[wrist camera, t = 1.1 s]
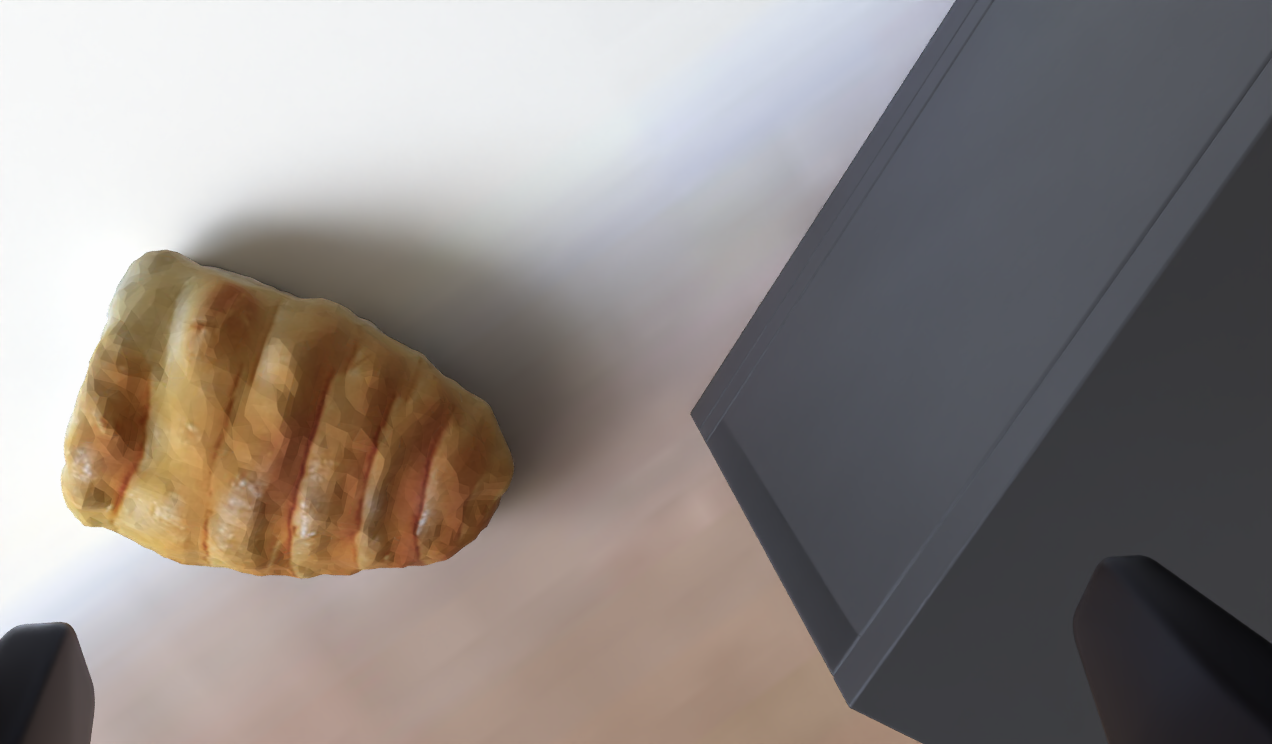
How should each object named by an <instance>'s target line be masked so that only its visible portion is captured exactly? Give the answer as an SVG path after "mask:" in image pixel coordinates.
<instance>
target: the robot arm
mask: <svg viewBox="0 0 1272 744" xmlns="http://www.w3.org/2000/svg"><path fill="white" fill-rule="evenodd" d="M1073 634H1074V639H1075V643H1076V646H1077V649H1078V652H1079V655H1080V658H1081V661H1082V665H1083V668H1084V671H1085V674H1086V677H1087V680H1088V683H1089V686H1090V689H1091V692H1092V695H1093V698H1094V702H1095V705H1096V708H1097V711H1098V714H1099V717H1100V720H1101V723H1102V726H1103V729H1104V732H1105V735H1106V738H1107V742H1108V744H1272V643H1270V642H1269V641H1267V640H1266V639H1265V638H1263V637H1262V636H1260V635H1259V634H1258V633H1256V632H1255V631H1253V630H1252V629H1251V628H1249V627H1248V626H1246V625H1245V624H1244V623H1242V622H1241V621H1239V620H1238V619H1237V618H1235V617H1234V616H1232V615H1231V614H1230V613H1228V612H1227V611H1225V610H1224V609H1223V608H1221V607H1220V606H1218V605H1217V604H1216V603H1214V602H1213V601H1211V600H1210V599H1209V598H1207V597H1206V596H1204V595H1203V594H1202V593H1200V592H1199V591H1197V590H1196V589H1194V588H1193V587H1192V586H1190V585H1189V584H1187V583H1186V582H1185V581H1183V580H1182V579H1180V578H1179V577H1178V576H1176V575H1175V574H1173V573H1172V572H1171V571H1169V570H1168V569H1166V568H1165V567H1164V566H1162V565H1161V564H1159V563H1158V562H1157V561H1155V560H1153V559H1152V558H1149V557H1147V556H1143V555H1130V556H1114V557H1107V558H1105V559H1103V560H1102V561H1100V562H1099V563H1098V565H1097V566H1096V568H1095V570H1094V572H1093V574H1092V577H1091V579H1090V581H1089V583H1088V585H1087V587H1086V589H1085V591H1084V593H1083V595H1082V597H1081V600H1080V602H1079V604H1078V606H1077V608H1076V610H1075V613H1074V617H1073ZM94 708H95V696H94V687H93V683H92V680H91V677H90V674H89V671H88V668H87V665H86V662H85V659H84V656H83V653H82V650H81V647H80V644H79V641H78V638H77V635H76V633H75V631H74V629H73V628H72V627H71V626H70V625H69V624H67V623H63V622H54V623H38V624H24V625H19V626H16V627H14V628H13V629H11V630H10V631H8V632H7V633H6V634H5V635H4V636H3V637H2V638H1V639H0V744H90V740H91V733H92V725H93V718H94Z"/></svg>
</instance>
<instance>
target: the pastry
mask: <svg viewBox="0 0 1272 744" xmlns="http://www.w3.org/2000/svg"><path fill="white" fill-rule="evenodd" d="M64 455H65V461H66V464H65V466H64V468H63V469H62V472H61V487H62V493H63V497H64V499H65V502H66V505H67V507H68V508H69V509H70V510H71V512H72V513H73V514H74V516H75V517H76V518H77V519H78V520H80V521H81V523H82V524H83V525H84V526H90V527H104V528H107V529H109V530H112V531H115V532H117V533H119V534H121V535H123V536H125V537H127V538H129V539H131V540H133V541H135V542H136V543H138V544H140V545H141V546H143V547H145V548H148V549H151V550H153V551H155V552H156V553H158V554H160V555H161V556H163V557H164V558H169V559H171V560H174V561H176V562H178V563H181V564H186V565H199V566H210V567H226V568H230V569H233V570H236V571H239V572H242V573H248V574H253V575H257V576H266V575H288V576H292V577H296V578H311V577H315V576H319V575H322V574H330V575H352V574H355V573H357V572H359V571H361V570H364V569H375V568H396V567H399V568H404V567H406V566H424V565H429V564H432V563H435V562H439V561H444V560H447V559H449V558H450V557H452V556H453V555H454V554H456V553H457V552H458V551H459V550H461V549H462V548H463V547H465V546H466V545H467V544H469V543H470V542H472V541H473V540H475V539H476V538H477V536H478V535H479V533H480V532H481V531H482V530H483V529H484V528H486V527H487V526H488V524H489V522H490V520H491V518H492V516H493V514H494V513H495V511H496V509H497V508H498V506H499V503H500V500H501V497H502V495H503V494H504V493H505V492H506V491H507V489H508V487H509V485H510V483H511V480H512V476H513V472H514V463H513V458H512V455H511V452H510V450H509V448H508V445H507V443H506V441H505V439H504V437H503V434H502V432H501V430H500V428H499V425H498V423H497V420H496V418H495V415H494V413H493V411H492V409H491V407H490V406H489V405H488V404H487V403H486V402H485V401H484V400H483V399H481V398H480V397H478V396H476V395H474V394H472V393H470V392H469V391H467V390H465V389H464V388H463V387H462V386H461V385H460V384H458V383H457V382H456V381H454V380H453V379H451V378H448V377H446V376H444V375H443V374H442V373H441V372H440V371H439V370H437V369H436V368H435V367H434V365H433V364H432V363H431V362H430V361H429V360H428V359H427V358H426V357H425V356H424V355H423V354H422V353H421V352H419V351H416V350H413V349H411V348H409V347H408V346H406V345H404V344H402V343H400V342H398V341H396V340H394V339H392V338H390V337H388V336H387V335H385V334H384V333H383V332H382V331H381V330H380V329H379V328H378V327H377V326H376V325H375V324H374V323H372V322H371V321H369V320H366V319H363V318H359V317H358V316H357V315H355V314H354V313H353V312H352V311H351V310H350V309H348V308H346V307H344V306H342V305H341V304H339V303H336V302H333V301H330V300H328V299H324V298H308V299H303V298H298V297H296V296H295V295H293V294H291V293H289V292H286V291H279V290H278V289H276V288H275V287H273V286H270V285H266V284H263V283H261V282H259V281H257V280H256V279H254V278H252V277H247V276H243V275H240V274H237V273H234V272H229V271H227V270H224V269H220V268H217V267H209V266H201V265H200V264H198V263H196V262H194V261H193V260H191V259H189V258H187V257H186V256H184V255H182V254H180V253H178V252H173V251H169V250H161V251H152V252H148V253H146V254H144V255H143V256H142V257H140V258H139V259H137V260H135V261H134V262H133V263H132V264H131V265H130V266H129V268H128V270H127V272H126V273H125V275H124V277H123V278H122V280H121V281H120V283H119V284H118V286H117V288H116V291H115V294H114V297H113V299H112V301H111V303H110V305H109V309H108V313H107V323H106V325H105V327H104V330H103V333H102V336H101V340H100V342H99V343H98V345H97V347H96V349H95V351H94V353H93V355H92V357H91V359H90V361H89V368H88V371H87V374H86V378H85V381H84V383H83V385H82V386H81V388H80V391H79V394H78V397H77V400H76V404H75V408H74V411H73V413H72V416H71V418H70V421H69V424H68V426H67V430H66V435H65V440H64Z"/></svg>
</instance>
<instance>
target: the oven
mask: <svg viewBox="0 0 1272 744" xmlns="http://www.w3.org/2000/svg"><path fill="white" fill-rule="evenodd" d="M691 416H692V418H693V420H694V422H695V424H696V426H697V427H698V429H699V431H700V433H701V435H702V436H703V438H704V440H705V442H706V443H707V445H708V447H709V449H710V451H711V453H712V455H713V457H714V458H715V460H716V462H717V464H718V466H719V468H720V469H721V471H722V473H723V475H724V477H725V479H726V480H727V482H728V484H729V486H730V488H731V490H732V492H733V493H734V495H735V497H736V499H737V501H738V503H739V504H740V506H741V508H742V510H743V512H744V514H745V515H746V517H747V519H748V521H749V523H750V525H751V527H752V528H753V530H754V532H755V534H756V536H757V538H758V539H759V541H760V543H761V545H762V547H763V549H764V551H765V552H766V554H767V556H768V558H769V560H770V562H771V563H772V565H773V567H774V569H775V571H776V573H777V574H778V576H779V578H780V580H781V582H782V584H783V586H784V587H785V589H786V591H787V593H788V595H789V597H790V598H791V600H792V602H793V604H794V606H795V608H796V609H797V611H798V613H799V615H800V617H801V619H802V621H803V622H804V624H805V626H806V628H807V630H808V632H809V633H810V635H811V637H812V639H813V641H814V643H815V645H816V646H817V648H818V650H819V652H820V654H821V656H822V657H823V659H824V661H825V663H826V665H827V667H828V668H829V670H830V672H831V674H832V675H833V677H834V680H835V682H836V684H837V686H838V688H839V690H840V691H841V693H842V695H843V697H844V699H845V701H846V702H847V704H848V706H849V707H850V708H851V709H854V710H856V711H858V712H860V713H862V714H864V715H866V716H868V717H870V718H872V719H874V720H876V721H878V722H880V723H882V724H884V725H886V726H888V727H890V728H892V729H894V730H896V731H898V732H900V733H902V734H904V735H906V736H908V737H911V738H913V739H915V740H917V741H919V742H921V743H923V744H1108V742H1107V738H1106V735H1105V732H1104V729H1103V726H1102V723H1101V720H1100V717H1099V714H1098V711H1097V708H1096V705H1095V702H1094V698H1093V695H1092V692H1091V689H1090V686H1089V683H1088V680H1087V677H1086V674H1085V671H1084V668H1083V665H1082V661H1081V658H1080V655H1079V652H1078V649H1077V646H1076V643H1075V639H1074V634H1073V617H1074V613H1075V610H1076V608H1077V606H1078V604H1079V602H1080V600H1081V597H1082V595H1083V593H1084V591H1085V589H1086V587H1087V585H1088V583H1089V581H1090V579H1091V577H1092V574H1093V572H1094V570H1095V568H1096V566H1097V565H1098V563H1099V562H1100V561H1102V560H1103V559H1105V558H1107V557H1114V556H1130V555H1143V556H1147V557H1149V558H1152V559H1153V560H1155V561H1157V562H1158V563H1159V564H1161V565H1162V566H1164V567H1165V568H1166V569H1168V570H1169V571H1171V572H1172V573H1173V574H1175V575H1176V576H1178V577H1179V578H1180V579H1182V580H1183V581H1185V582H1186V583H1187V584H1189V585H1190V586H1192V587H1193V588H1194V589H1196V590H1197V591H1199V592H1200V593H1202V594H1203V595H1204V596H1206V597H1207V598H1209V599H1210V600H1211V601H1213V602H1214V603H1216V604H1217V605H1218V606H1220V607H1221V608H1223V609H1224V610H1225V611H1227V612H1228V613H1230V614H1231V615H1232V616H1234V617H1235V618H1237V619H1238V620H1239V621H1241V622H1242V623H1244V624H1245V625H1246V626H1248V627H1249V628H1251V629H1252V630H1253V631H1255V632H1256V633H1258V634H1259V635H1260V636H1262V637H1263V638H1265V639H1266V640H1267V641H1269V642H1270V643H1272V0H956V1H955V3H954V4H953V6H952V7H951V9H950V10H949V12H948V14H947V15H946V17H945V18H944V20H943V21H942V23H941V24H940V26H939V28H938V29H937V31H936V32H935V34H934V35H933V37H932V38H931V40H930V42H929V43H928V45H927V46H926V48H925V49H924V51H923V52H922V54H921V56H920V57H919V59H918V60H917V62H916V63H915V65H914V66H913V68H912V70H911V71H910V73H909V74H908V76H907V77H906V79H905V80H904V82H903V84H902V85H901V87H900V88H899V90H898V91H897V93H896V94H895V96H894V98H893V99H892V101H891V102H890V104H889V105H888V107H887V108H886V110H885V112H884V113H883V115H882V116H881V118H880V119H879V121H878V122H877V124H876V126H875V127H874V129H873V130H872V132H871V133H870V135H869V136H868V138H867V140H866V141H865V143H864V144H863V146H862V147H861V149H860V150H859V152H858V154H857V155H856V157H855V158H854V160H853V161H852V163H851V164H850V166H849V168H848V169H847V171H846V172H845V174H844V175H843V177H842V178H841V180H840V182H839V183H838V185H837V186H836V188H835V189H834V191H833V192H832V194H831V196H830V197H829V199H828V200H827V202H826V203H825V205H824V206H823V208H822V210H821V211H820V213H819V214H818V216H817V217H816V219H815V220H814V222H813V223H812V225H811V227H810V228H809V230H808V231H807V233H806V234H805V236H804V237H803V239H802V241H801V242H800V244H799V245H798V247H797V248H796V250H795V251H794V253H793V255H792V256H791V258H790V259H789V261H788V262H787V264H786V265H785V267H784V269H783V270H782V272H781V273H780V275H779V276H778V278H777V279H776V281H775V283H774V284H773V286H772V287H771V289H770V290H769V292H768V293H767V295H766V297H765V298H764V300H763V301H762V303H761V304H760V306H759V307H758V309H757V311H756V312H755V314H754V315H753V317H752V318H751V320H750V321H749V323H748V325H747V326H746V328H745V329H744V331H743V332H742V334H741V335H740V337H739V339H738V340H737V342H736V343H735V345H734V346H733V348H732V349H731V351H730V353H729V354H728V356H727V357H726V359H725V360H724V362H723V363H722V365H721V367H720V368H719V370H718V371H717V373H716V374H715V376H714V377H713V379H712V381H711V382H710V384H709V385H708V387H707V388H706V390H705V391H704V393H703V395H702V396H701V398H700V399H699V401H698V402H697V404H696V405H695V407H694V409H693V410H692V412H691Z"/></svg>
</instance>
